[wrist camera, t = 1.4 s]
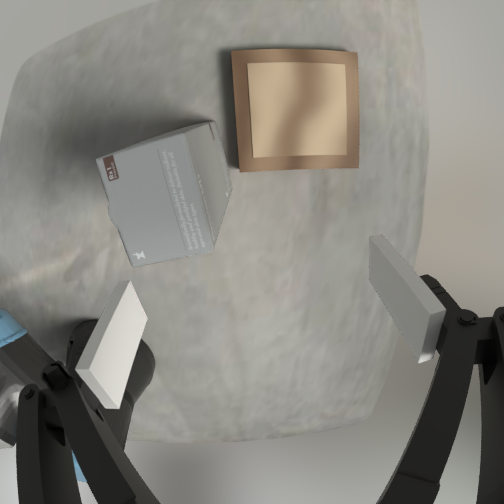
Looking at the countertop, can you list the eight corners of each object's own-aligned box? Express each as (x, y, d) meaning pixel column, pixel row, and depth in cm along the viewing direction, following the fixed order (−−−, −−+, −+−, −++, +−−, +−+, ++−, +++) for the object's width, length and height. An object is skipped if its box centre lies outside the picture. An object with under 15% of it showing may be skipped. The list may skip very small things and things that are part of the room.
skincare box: (233, 188, 34) (228, 257, 20) (172, 202, 35) (130, 276, 21) (216, 115, 30) (195, 128, 16) (152, 132, 31) (88, 162, 17)
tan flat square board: (239, 169, 33) (239, 172, 32) (231, 53, 27) (231, 50, 26) (354, 165, 33) (358, 168, 32) (352, 54, 27) (357, 52, 26)
